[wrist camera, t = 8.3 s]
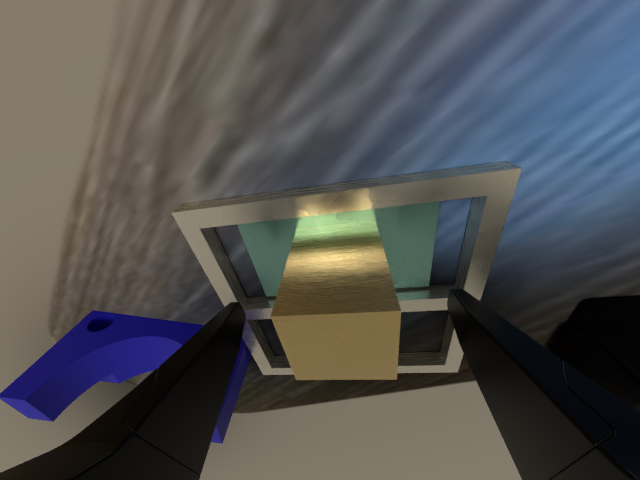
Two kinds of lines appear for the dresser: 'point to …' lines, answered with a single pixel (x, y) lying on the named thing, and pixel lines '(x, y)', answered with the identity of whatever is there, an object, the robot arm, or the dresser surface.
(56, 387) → the cable clip
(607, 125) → the dresser surface
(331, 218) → the grey divided frame
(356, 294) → the yellow rectangular block
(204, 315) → the dresser surface
